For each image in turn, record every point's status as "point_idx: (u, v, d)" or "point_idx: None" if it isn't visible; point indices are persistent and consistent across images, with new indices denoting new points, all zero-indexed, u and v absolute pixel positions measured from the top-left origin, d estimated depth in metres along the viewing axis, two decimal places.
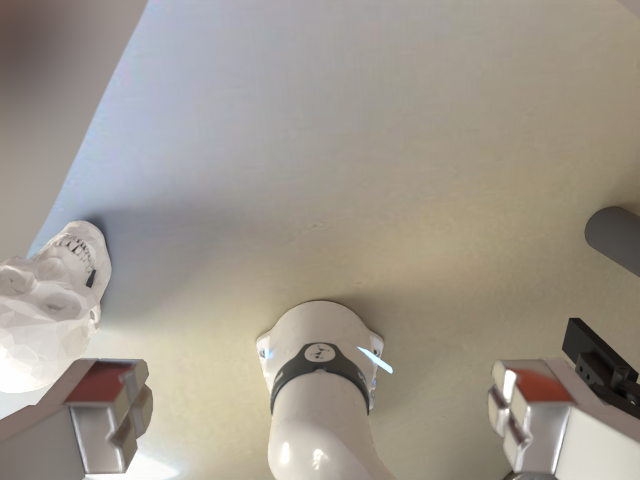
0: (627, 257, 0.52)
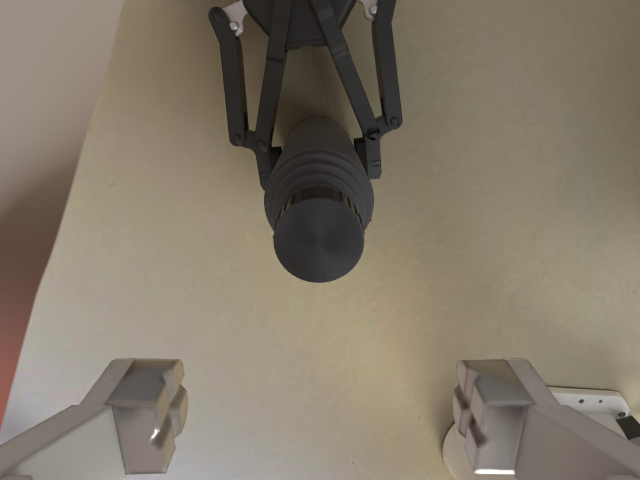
0: None
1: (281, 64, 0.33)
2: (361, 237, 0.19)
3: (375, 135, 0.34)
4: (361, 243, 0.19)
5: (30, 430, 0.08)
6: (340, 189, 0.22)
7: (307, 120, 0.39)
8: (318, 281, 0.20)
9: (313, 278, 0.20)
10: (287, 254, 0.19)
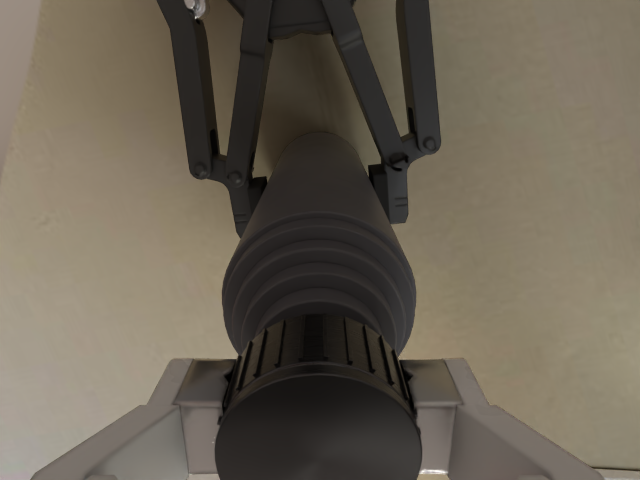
0: None
1: (263, 60, 0.22)
2: (416, 451, 0.08)
3: (402, 164, 0.23)
4: (415, 462, 0.08)
5: (103, 430, 0.08)
6: (360, 299, 0.11)
7: (303, 138, 0.29)
8: None
9: None
10: None
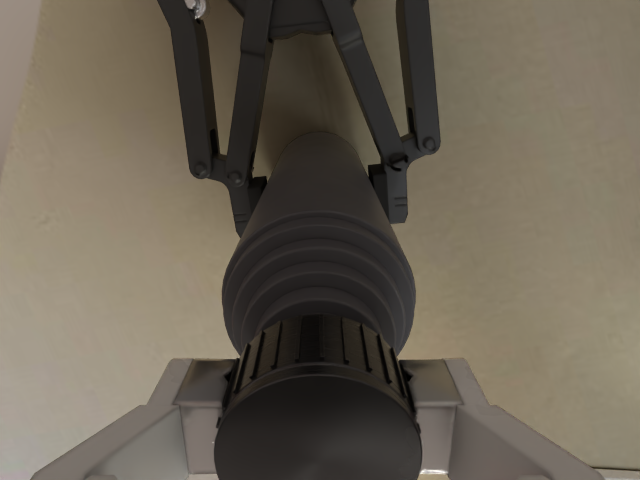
0: None
1: (263, 60, 0.22)
2: (320, 379, 0.08)
3: (401, 164, 0.23)
4: (337, 381, 0.08)
5: (104, 430, 0.08)
6: (360, 298, 0.11)
7: (303, 138, 0.29)
8: (416, 473, 0.08)
9: None
10: None
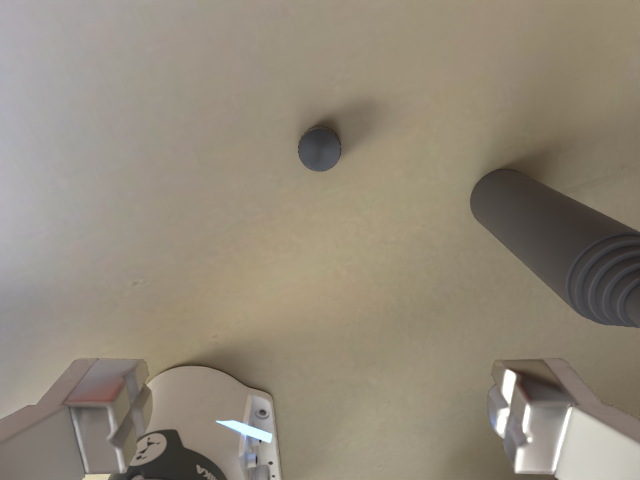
0: (505, 241, 0.37)
1: None
2: (337, 159, 0.41)
3: None
4: (335, 161, 0.42)
5: None
6: None
7: None
8: (308, 167, 0.42)
9: (307, 164, 0.42)
10: (303, 147, 0.41)
